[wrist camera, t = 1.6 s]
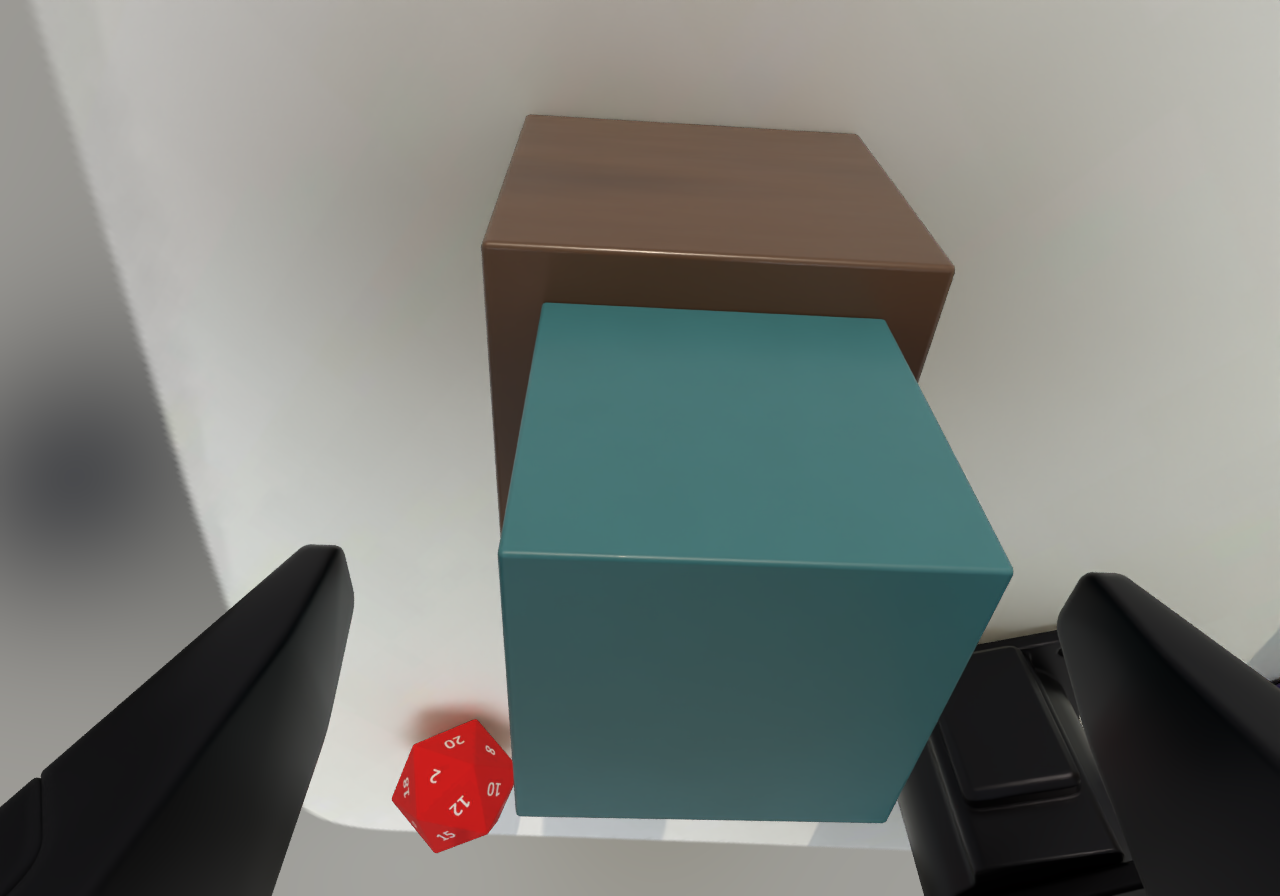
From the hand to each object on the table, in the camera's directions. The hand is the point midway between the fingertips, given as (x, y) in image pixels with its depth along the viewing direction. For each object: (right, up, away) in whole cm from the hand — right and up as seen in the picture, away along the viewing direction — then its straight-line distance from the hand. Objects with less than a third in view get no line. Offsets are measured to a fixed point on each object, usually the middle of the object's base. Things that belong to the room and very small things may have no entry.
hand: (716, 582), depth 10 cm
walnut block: (0, +5, +6) cm, 8 cm away
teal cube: (0, +2, +2) cm, 3 cm away
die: (-7, -8, +17) cm, 20 cm away
